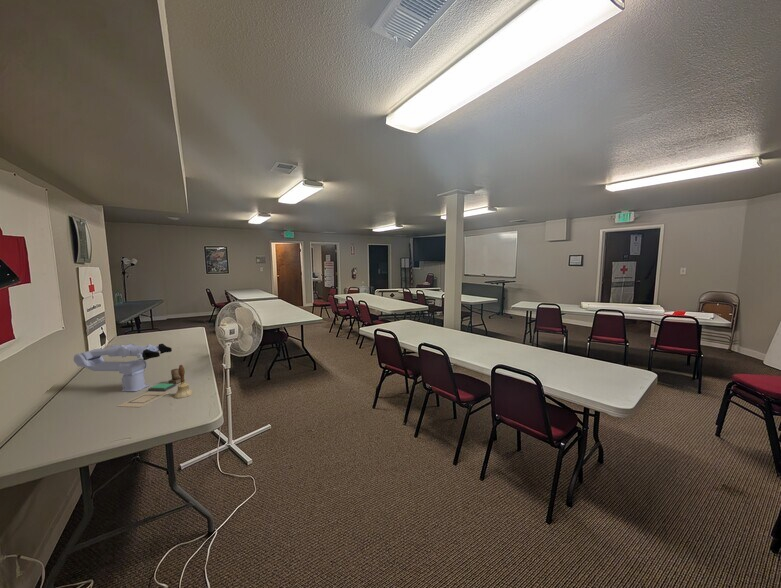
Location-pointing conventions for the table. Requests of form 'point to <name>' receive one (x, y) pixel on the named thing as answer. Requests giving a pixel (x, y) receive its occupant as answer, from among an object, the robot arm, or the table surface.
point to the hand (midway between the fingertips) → (165, 352)
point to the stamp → (175, 377)
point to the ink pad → (161, 387)
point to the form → (143, 399)
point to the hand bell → (183, 385)
